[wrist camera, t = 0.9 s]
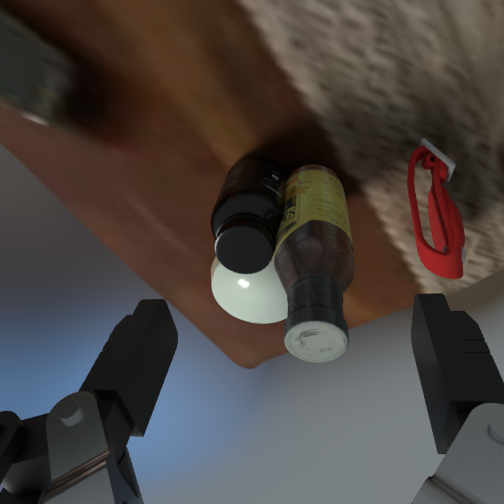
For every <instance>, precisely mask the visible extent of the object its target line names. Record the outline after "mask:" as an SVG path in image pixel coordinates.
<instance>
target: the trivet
mask: <svg viewBox="0 0 504 504" xmlns="http://www.w3.org/2000/svg"><path fill="white" fill-rule="evenodd" d="M274 256H275V252H274V255H273V257H272V261H271V262H270V263H269V265H268V266H266V268H265V269H263V270H262V271H259V272H257V273H253V274H246V275H245V274H239V273H234V272H233V271H230V270H228V269H227V268H225V267H224V266H223V265H222V264H221V263H220V261H218V259H217V257H215V259H214V261H213V264H212V268H211V279H212V291H213V294H214V297H215V299H216V300H217V302H218V303H219V305H220V306H221V307H222V308H223V309H224V310H226V311H227V312H228V313H230V314H231V315H233V316H235V317H237V318H239V319H241V320H244V321H248V322H253V323H273V322H277V321H281V320H283V319H286V318H287V311H288V302H287V295H286V292H285V290H284V288H283V286H282V284H281V281H280V279H279V277H278V275H277V272H276V270H275V267H274Z"/></svg>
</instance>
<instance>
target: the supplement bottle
mask: <svg viewBox="0 0 504 504" xmlns="http://www.w3.org/2000/svg"><path fill="white" fill-rule="evenodd" d="M288 177H289V176H288V174H287V172H286V171H285V169H284V168H283V167H282V166H281V165H280V164H279V163H278V162H276V161H275V160H273V159H271V158H268V157H264V156H249V157H246V158H243V159H241V160H239V161H238V162H237V163H235V164H234V165H233V166H232V167H231V169H230V170H229V172H228V174H227V176H226V178H225V181H224V183H223V186H222V188H221V191H220V194H219V196H218V199H217V201H216V204H215V206H214V209H213V212H212V215H211V231H212V234H213V236H214V238H215V243H214V247H215V248H214V251H215V255H216V257H217V259H218V261H220V263H221V264H222V265H223V266H224V267H225V268H227V269H228V270H230V271H233V272H234V273H239V274H245V275H246V274H253V273H257V272H259V271H262V270H263V269H265V268H266V266H268V265H269V263H270V262H271V261H272V257H273V255H274V252H275V246H276V236H277V232H278V229H279V226H280V224H281V222H282V220H283V217H284V214H285V204H286V188H287V181H288Z"/></svg>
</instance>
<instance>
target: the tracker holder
mask: <svg viewBox="0 0 504 504" xmlns="http://www.w3.org/2000/svg"><path fill="white" fill-rule="evenodd" d="M419 160H422V167H423V168H424V169H426V170H428V169H431V174H432V186H431V190H430V191H429V194H428V213H429V221H430V227H431V232H432V237H433V241H434V246H435V249H436V250H435V249H434V248H433V247H431V246H430V245H429V244H428V243H427V242H426V241H425V239H424V237H423V234H422V229H421V223H420V218H419V212H418V206H417V200H416V194H415V187H414V170H415V165H416V164H417V162H418V161H419ZM446 165H448V166H449V169H448V172H447V166H446ZM454 168H455V163H454V162H452V161H451V160H450V159H449V158H448V157H446V156H445V155H444V154H443V153H442V152H441V151H440V150H439V149H438V148H436V147H434V146H433V145H432V144H431V143H430V142H429V141H427V140H426V139H425V138H423V139H422V140H421V142H420V147H418V148H417V149H416V150H415V151H414V152H413V153H412V155H411V158H410V161H409V167H408V178H407V186H408V194H409V201H410V207H411V213H412V220H413V226H414V232H415V239H416V245H417V251H418V255H419V257H420V260H421V262H422V263H423V264H424V266H425V267H426V268H427V269H428V270H430V271H431V272H433V273H435V274H437V275H439V276H441V277H445V278H449V279H459V278H461V277H463V262H464V261H465V256H466V255H465V250H464V244H465V234H464V227H463V222H462V218H461V215H460V212H459V210H458V208H457V206H456V205H455V203H454V202H453V201H452V200H451V199H450V197H449V195H448V192H447V191H446V189H445V188H444V187H443V186H441V183H445V181H446V182H448V181H450V179H451V176H452V173H453V171H454Z"/></svg>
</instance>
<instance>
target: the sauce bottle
mask: <svg viewBox="0 0 504 504" xmlns="http://www.w3.org/2000/svg"><path fill="white" fill-rule="evenodd" d="M352 253H353V244H352V238H351V231H350V225H349V218H348V212H347V205H346V199H345V193H344V189H343V186H342V185H341V182H340V180H339V178H338V177H337V175H336V174H335V172H333V171H332V170H331V169H329V168H327V167H324V166H321V165H315V164H311V165H305V166H302V167H300V168H298V169H296V170H295V171H293V172H292V173H291V175H290V176H289V177H288V181H287V188H286V204H285V214H284V217H283V220H282V222H281V224H280V226H279V229H278V232H277V236H276V246H275V256H274V267H275V270H276V272H277V275H278V277H279V279H280V281H281V284H282V286H283V288H284V290H285V292H286V295H287V302H288V311H287V319H286V321H285V324H284V343H285V346H286V348H287V349H288V350H289V352H290V353H291V354H293V355H294V356H296V357H298V358H300V359H302V360H304V361H309V362H326V361H330V360H333V359H336V358H338V357H339V356H341V355H342V354H343V353H344V352H345V351H346V349H347V347H348V341H349V336H348V329H347V324H346V321H345V319H344V317H343V306H342V304H343V294H344V293H345V291H346V290H347V289H348V288H349V286H350V284H351V282H352V281H353V277H354V267H355V265H354V261H353V260H354V259H353V255H352Z"/></svg>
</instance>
